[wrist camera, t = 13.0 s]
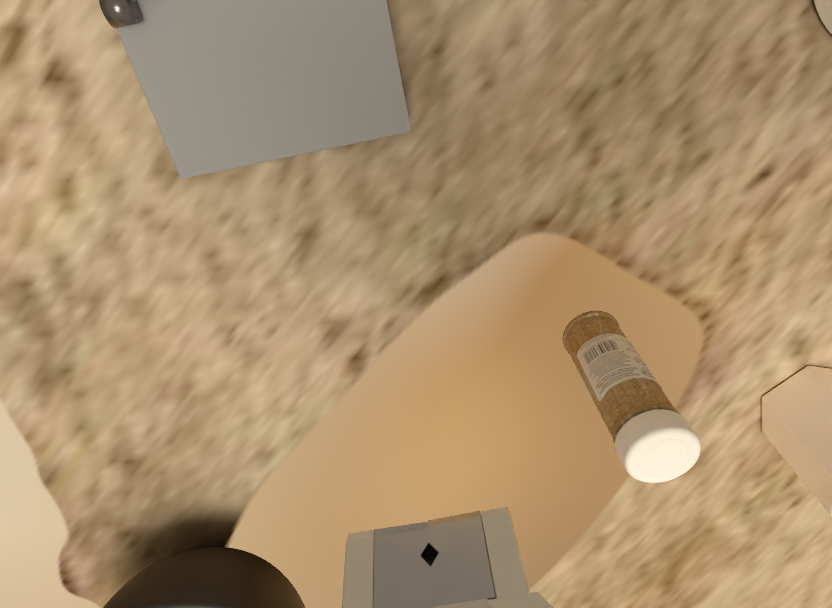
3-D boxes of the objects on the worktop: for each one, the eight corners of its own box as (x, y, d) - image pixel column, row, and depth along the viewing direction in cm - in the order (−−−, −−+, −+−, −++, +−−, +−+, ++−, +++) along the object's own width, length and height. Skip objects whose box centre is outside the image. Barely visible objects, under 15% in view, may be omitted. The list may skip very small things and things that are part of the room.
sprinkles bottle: (565, 361, 45) (628, 493, 34) (557, 316, 43) (622, 442, 31) (620, 347, 45) (704, 476, 33) (616, 301, 42) (703, 422, 31)
